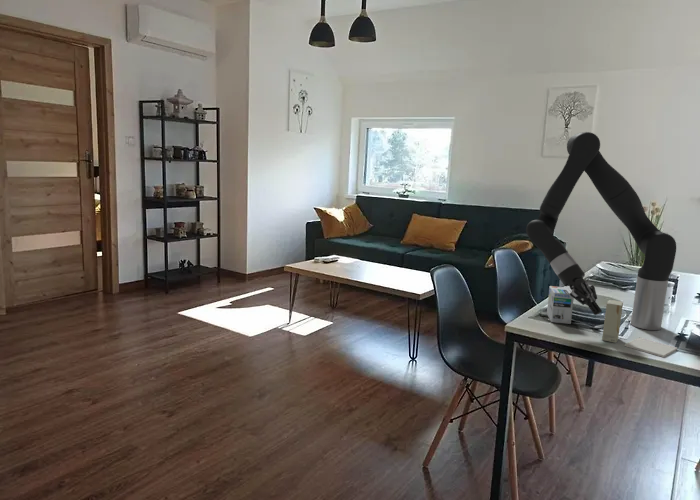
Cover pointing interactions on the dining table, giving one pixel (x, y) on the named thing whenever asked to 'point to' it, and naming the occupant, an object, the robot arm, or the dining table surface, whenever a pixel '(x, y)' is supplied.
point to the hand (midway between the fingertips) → (598, 313)
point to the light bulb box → (560, 305)
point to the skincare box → (612, 321)
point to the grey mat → (651, 347)
